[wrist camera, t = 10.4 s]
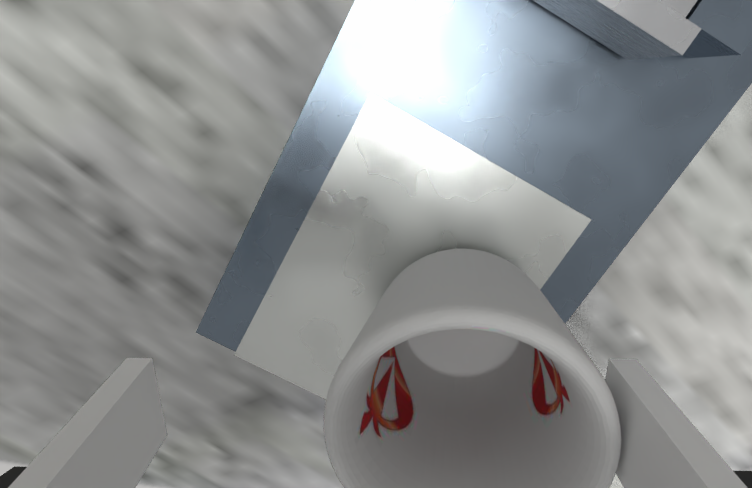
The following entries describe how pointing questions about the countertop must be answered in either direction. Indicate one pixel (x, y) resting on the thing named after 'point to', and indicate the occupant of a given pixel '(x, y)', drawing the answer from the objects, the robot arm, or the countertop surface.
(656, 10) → the lever
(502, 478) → the cup
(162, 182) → the countertop surface
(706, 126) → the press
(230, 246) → the countertop surface
